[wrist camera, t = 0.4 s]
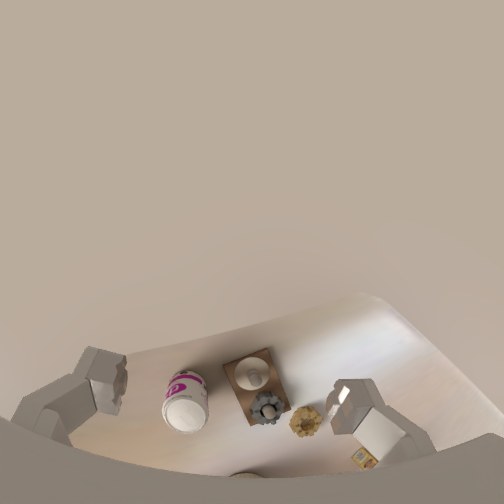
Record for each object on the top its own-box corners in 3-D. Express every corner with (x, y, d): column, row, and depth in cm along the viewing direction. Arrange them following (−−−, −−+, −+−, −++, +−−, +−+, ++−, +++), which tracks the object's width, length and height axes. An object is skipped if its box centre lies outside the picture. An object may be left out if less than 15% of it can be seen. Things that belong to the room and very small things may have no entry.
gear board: (289, 406, 63) (298, 418, 57) (249, 423, 61) (254, 436, 55) (266, 347, 63) (273, 355, 57) (222, 364, 61) (225, 374, 55)
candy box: (350, 457, 64) (377, 485, 49) (361, 446, 65) (390, 473, 50) (367, 467, 65) (394, 493, 50) (377, 457, 66) (406, 481, 51)
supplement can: (161, 382, 59) (151, 411, 44) (191, 362, 60) (188, 387, 46) (184, 409, 59) (181, 443, 44) (214, 390, 61) (218, 421, 46)
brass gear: (321, 423, 64) (325, 428, 61) (294, 436, 63) (297, 442, 60) (313, 401, 64) (317, 405, 61) (284, 414, 63) (288, 419, 60)
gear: (285, 411, 61) (291, 419, 57) (255, 423, 60) (259, 433, 55) (275, 385, 61) (280, 393, 57) (244, 398, 60) (247, 406, 55)
